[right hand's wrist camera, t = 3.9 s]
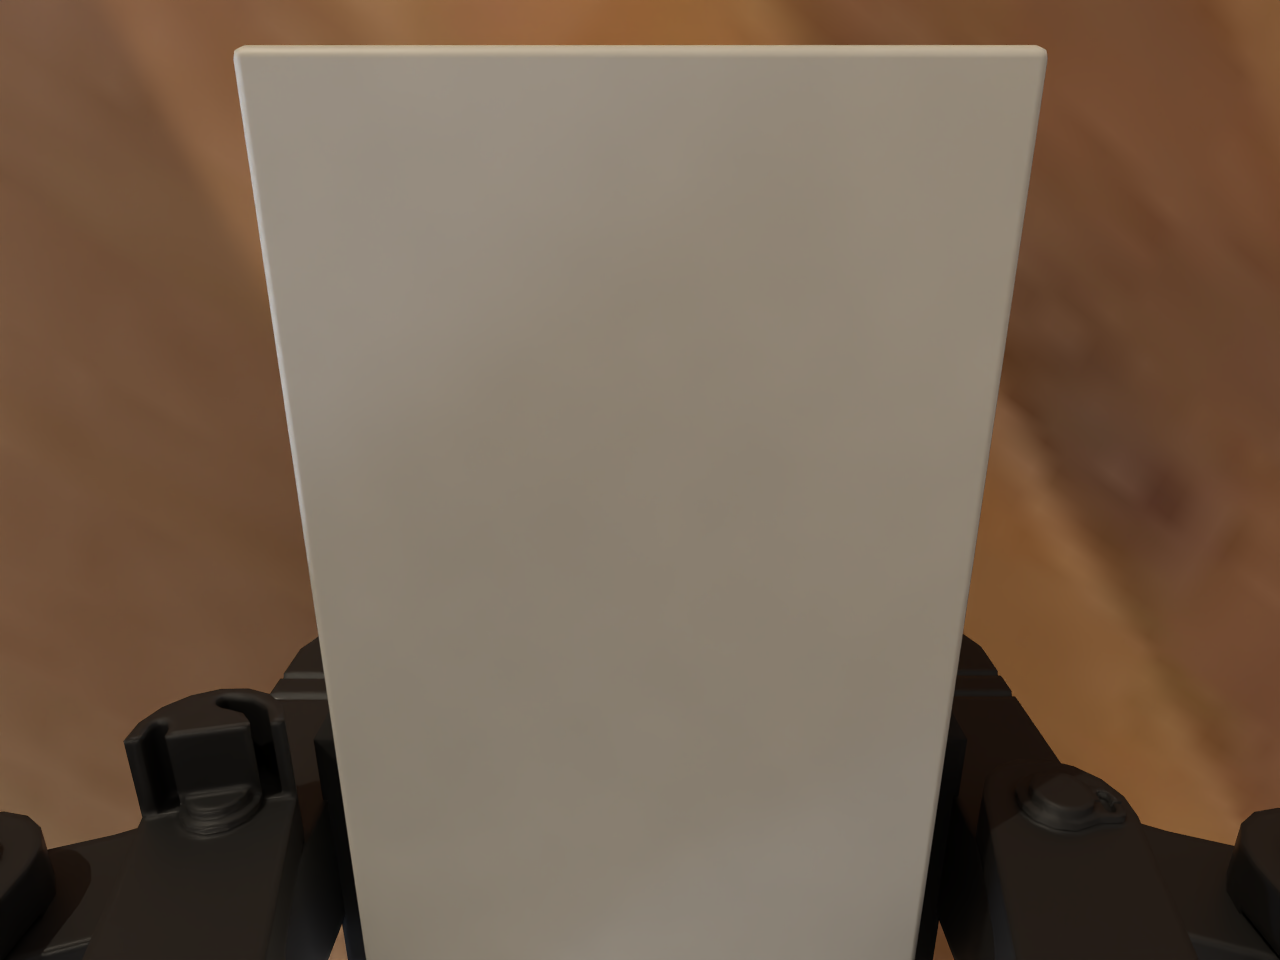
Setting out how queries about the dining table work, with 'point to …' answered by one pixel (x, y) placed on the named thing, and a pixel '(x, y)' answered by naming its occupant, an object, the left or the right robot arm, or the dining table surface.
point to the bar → (640, 472)
